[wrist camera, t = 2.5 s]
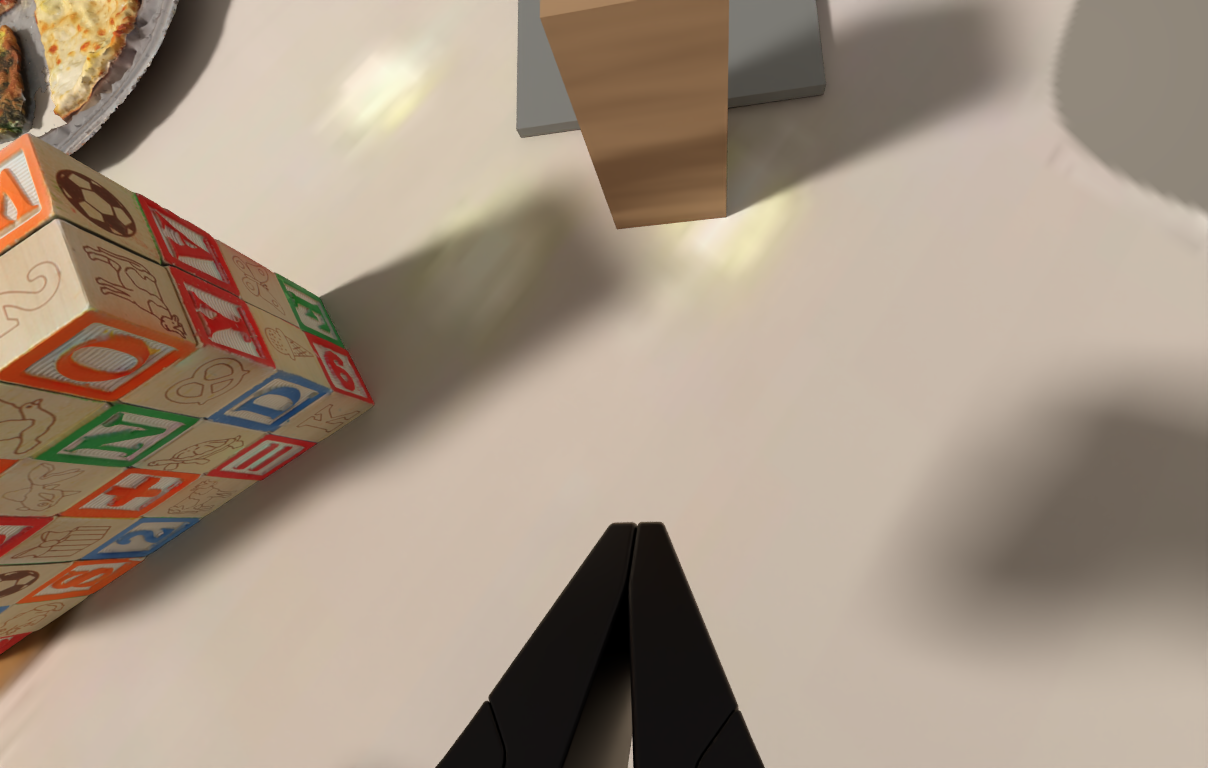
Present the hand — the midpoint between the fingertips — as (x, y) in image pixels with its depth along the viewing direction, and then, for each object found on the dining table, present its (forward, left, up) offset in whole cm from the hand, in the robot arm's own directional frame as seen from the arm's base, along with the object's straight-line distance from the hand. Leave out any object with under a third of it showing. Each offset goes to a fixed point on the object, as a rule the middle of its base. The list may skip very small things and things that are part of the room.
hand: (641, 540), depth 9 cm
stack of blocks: (+14, +19, -13) cm, 27 cm away
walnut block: (+13, -7, -13) cm, 19 cm away
